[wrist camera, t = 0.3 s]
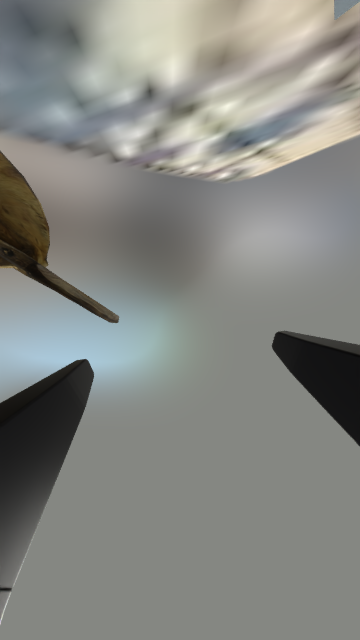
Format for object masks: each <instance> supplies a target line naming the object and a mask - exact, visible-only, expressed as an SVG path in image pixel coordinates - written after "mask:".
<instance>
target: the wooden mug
mask: <svg viewBox="0 0 360 640" xmlns="http://www.w3.org/2000/svg"><path fill="white" fill-rule="evenodd" d="M49 246H50V240H49V226H48V223H47V221H46V217H45V215H44V212H43V209H42V206H41V203H40V202H39V200H38V199H37V197H36V196H35V194H34V192H33V191H32V189H31V187H30V186H29V184H28V183H27V181H26V179H25V178H24V176H23V175H22V174H21V173H20V172H19V171H18V170H17V169H16V168H15V167H14V166H13V164H12V163H11V162H10V161H9V160H8V159H7V158H6V157H5V156H4V155H3V153H2V152H1V151H0V268H14V269H16V270H18V271H19V272H21V273H23V274H24V275H26V276H28V277H30V278H32V279H34V280H36V281H38V282H39V283H41V284H43V285H45V286H47V287H49V288H51V289H52V290H54V291H56V292H58V293H59V294H61V295H63V296H64V297H66V298H68V299H69V300H71V301H73V302H75V303H77V304H79V305H80V306H82V307H83V308H85V309H87V310H88V311H90V312H92V313H94V314H95V315H97V316H99V317H101V318H103V319H105V320H107V321H108V322H111V323H118V320H119V316H118V315H116V314H115V313H113V312H112V311H110V310H108V309H107V308H106V307H104V306H103V305H101V304H99V303H98V302H96V301H95V300H93V299H92V298H90V297H89V296H87V295H86V294H84V293H83V292H81V291H80V290H78V289H77V288H75V287H74V286H72V285H70V284H69V283H67V282H66V281H64V280H62V279H61V278H60V277H58V276H57V275H55V274H54V273H52V272H51V271H49V270H48V269H47V268H45V267H46V266H48V262H47V253H48V249H49Z"/></svg>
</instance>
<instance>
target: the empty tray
mask: <svg viewBox="0 0 360 640" xmlns="http://www.w3.org/2000/svg"><path fill="white" fill-rule="evenodd" d="M358 2H360V0H334V15H335V20H336V19H337V18H338V17H340V16H341V15H342V14H344V13H345V12H346V11H348V10H349V9H350V8H352V7H353V6H354V5H356V4H357V3H358Z"/></svg>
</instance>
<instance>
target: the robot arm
mask: <svg viewBox="0 0 360 640" xmlns="http://www.w3.org/2000/svg"><path fill="white" fill-rule="evenodd" d="M272 348H273V350H274V352H275V353H276V354H277V356H278V357H279V358H280V359H281V361H282V362H283V363H284V365H285V366H286V367H287V369H288V370H289V371H290V372H291V373H292V374H293V376H294V377H295V378H296V379H297V380H298V381H299V382H300V383H301V384H302V385H303V386H304V388H306V389H307V391H308V392H309V393H310V394H311V395H312V396H313V397H314V398H315V399H316V400H317V401H318V402H319V404H320V405H321V406H322V407H323V408H324V409H325V410H326V411H327V412H328V413H329V414H330V415H331V416H332V417H333V418H334V420H335V421H336V422H337V423H338V424H339V425H340V426H341V427H342V428H343V429H344V430H345V431H346V432H347V433H348V435H349V436H350V437H351V438H352V439H353V440H354V441H355V442H356V443H357V444H358V445H359V446H360V345H357V344H352V343H346V342H341V341H336V340H330V339H325V338H320V337H315V336H309V335H304V334H299V333H294V332H288V331H280V332H277V333H276V334H275V337H274V340H273V343H272ZM93 378H94V372H93V370H92V368H91V366H90V363H89V361H88V360H87V359H82V360H77V361H74V362H73V363H71V364H69V365H68V366H66V367H64V368H62V369H61V370H58V371H57V372H55V373H53V374H51V375H50V376H48V377H46V378H44V379H42V380H41V381H39V382H37V383H35V384H34V385H32V386H30V387H28V388H27V389H25V390H23V391H21V392H19V393H17V394H16V395H14V396H12V397H10V398H9V399H7V400H5V401H3V402H1V403H0V623H1V620H2V616H3V613H4V610H5V607H6V604H7V602H8V599H9V596H10V594H11V589H12V588H13V586H14V584H15V581H16V579H17V576H18V574H19V571H20V569H21V566H22V564H23V561H24V559H25V556H26V554H27V552H28V549H29V547H30V544H31V542H32V539H33V537H34V534H35V531H36V529H37V527H38V524H39V522H40V519H41V517H42V514H43V512H44V509H45V507H46V504H47V502H48V499H49V497H50V494H51V492H52V489H53V487H54V485H55V482H56V480H57V477H58V475H59V472H60V470H61V467H62V465H63V462H64V459H65V457H66V455H67V452H68V450H69V447H70V445H71V442H72V440H73V437H74V435H75V432H76V430H77V427H78V425H79V422H80V420H81V417H82V415H83V412H84V410H85V407H86V403H87V400H88V397H89V393H90V389H91V386H92V382H93Z"/></svg>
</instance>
